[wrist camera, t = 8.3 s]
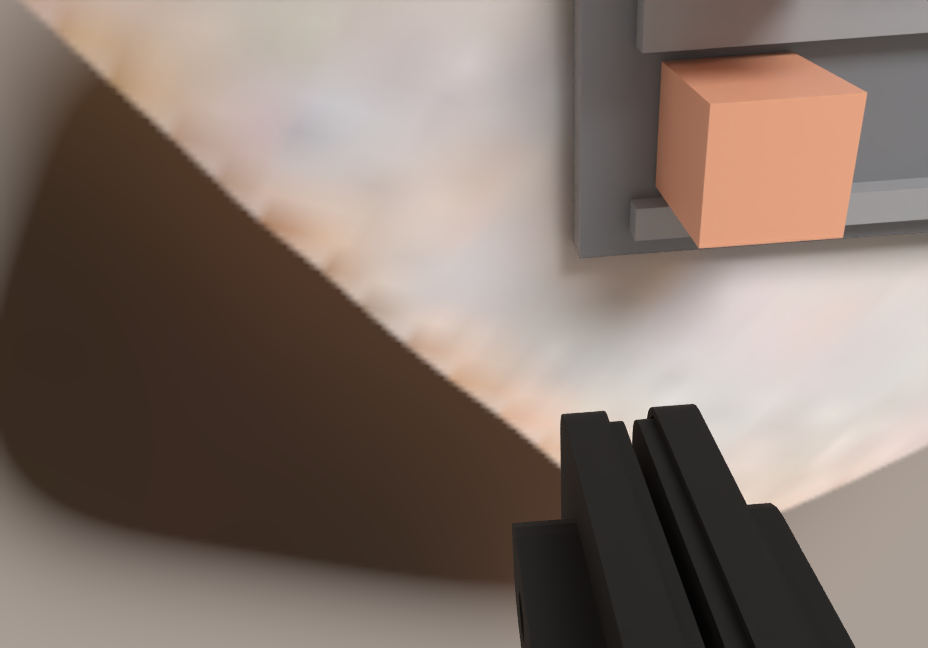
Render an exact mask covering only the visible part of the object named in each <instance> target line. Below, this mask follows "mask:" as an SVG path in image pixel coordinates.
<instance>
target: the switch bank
mask: <svg viewBox="0 0 928 648" xmlns="http://www.w3.org/2000/svg"><path fill="white" fill-rule="evenodd" d="M780 52H794V53H796V54H798V55H800V56H801V57H803V58H805V59H807V60H809V61H811V62H812V63H814V64H816V65H818V66H820V67H822V68H823V69H825V70H827V71H829V72H831V73H833V74H834V75H836V76H838V77H840V78H842V79H844V80H845V81H847V82H849V83H851V84H853V85H855V86H856V87H858V88H860V89H862V90H864V91H866V92H867V98H866V104H865V110H864V116H863V122H862V128H861V134H860V140H859V146H858V152H857V158H856V164H855V169H854V175H853V181H852V187H851V193H850V199H849V205H848V211H847V217H846V223H845V229H844V235H843V238H855V237H869V236H882V235H895V234H909V233H922V232H928V0H574V244H575V246H576V249H577V252H578V254H579V257H580V258H588V257H602V256H615V255H628V254H642V253H655V252H668V251H682V250H695V249H699V248H698V247H697V245H696V244H695V242H694V241H693V239H692V238H691V237H690V235H689V234H688V232H687V231H686V229H685V228H684V226H683V225H682V224H681V222H680V221H679V219H678V218H677V216H676V215H675V214H674V212H673V211H672V209H671V208H670V206H669V205H668V203H667V202H666V201H665V199H664V198H663V196H662V195H661V193H660V192H659V190H658V189H657V188H656V186H655V184H656V164H657V145H658V125H659V105H660V85H661V65H662V61H670V60H684V59H698V58H712V57H725V56H739V55H753V54H766V53H780ZM833 239H842V238H833ZM820 240H829V239H820ZM807 241H815V240H807ZM793 242H802V241H793ZM780 243H789V242H780ZM767 244H775V243H767ZM753 245H762V244H753ZM740 246H749V245H740ZM727 247H735V246H727ZM713 248H722V247H713ZM700 249H708V248H700Z"/></svg>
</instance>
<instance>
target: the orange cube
mask: <svg viewBox="0 0 928 648" xmlns="http://www.w3.org/2000/svg"><path fill="white" fill-rule="evenodd" d="M866 98H867V92H866V91H864V90H862V89H860V88H858V87H856V86H855V85H853V84H851V83H849V82H847V81H845V80H844V79H842V78H840V77H838V76H836V75H834V74H833V73H831V72H829V71H827V70H825V69H823V68H822V67H820V66H818V65H816V64H814V63H812V62H811V61H809V60H807V59H805V58H803V57H801V56H800V55H798V54H796V53H794V52H780V53H766V54H753V55H739V56H725V57H712V58H698V59H684V60H670V61H662V65H661V85H660V105H659V125H658V145H657V164H656V184H655V186H656V188H657V189H658V190H659V192H660V193H661V195H662V196H663V198H664V199H665V201H666V202H667V203H668V205H669V206H670V208H671V209H672V211H673V212H674V214H675V215H676V216H677V218H678V219H679V221H680V222H681V224H682V225H683V226H684V228H685V229H686V231H687V232H688V234H689V235H690V237H691V238H692V239H693V241H694V242H695V244H696V245H697V247H698V248H699V249H700V248H713V247H727V246H740V245H753V244H767V243H780V242H793V241H807V240H820V239H833V238H843V235H844V229H845V223H846V217H847V211H848V205H849V199H850V193H851V187H852V181H853V175H854V169H855V164H856V158H857V152H858V146H859V140H860V134H861V128H862V122H863V116H864V110H865V104H866Z"/></svg>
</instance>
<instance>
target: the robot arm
mask: <svg viewBox="0 0 928 648" xmlns="http://www.w3.org/2000/svg"><path fill="white" fill-rule="evenodd" d="M560 436H561V520H548V521H536V522H535V521H534V522H522V523H513V524H512V537H513V538H512V539H513V562H514V579H515V592H516V604H517V614H518V624H519V633H520V640H521V648H855V646H854V644H853V642H852V640H851V639H850V637H849V635H848V633H847V631H846V629H845V628H844V626H843V624H842V622H841V621H840V619H839V617H838V615H837V613H836V611H835V610H834V608H833V606H832V604H831V602H830V601H829V599H828V597H827V595H826V593H825V592H824V590H823V588H822V586H821V584H820V582H819V581H818V579H817V577H816V575H815V573H814V571H813V570H812V568H811V566H810V564H809V563H808V561H807V559H806V557H805V555H804V553H803V552H802V550H801V548H800V546H799V544H798V543H797V541H796V539H795V537H794V535H793V533H792V532H791V530H790V528H789V526H788V524H787V523H786V521H785V519H784V517H783V515H782V514H781V513H780V511H779V510H778V508H777V507H776V506H774V505H773V504H771V503H764V504H751V505H747V504H746V502H745V500H744V498H743V496H742V494H741V492H740V490H739V488H738V486H737V484H736V482H735V480H734V478H733V476H732V474H731V472H730V470H729V468H728V466H727V464H726V462H725V460H724V458H723V456H722V454H721V452H720V450H719V448H718V446H717V444H716V442H715V440H714V438H713V436H712V435H711V433H710V431H709V429H708V427H707V425H706V423H705V421H704V419H703V417H702V415H701V413H700V411H699V409H698V408H697V406H696V405H694V404H687V405H674V406H661V407H651V408H650V409H649V411H648V416H647V419H641V420H635V421H634V424H633V438H632V443H631V440H630V438H629V435H628V432H627V429H626V426H625V424H624V422H623V421H616V422H609V419H608V416H607V414H606V412H605V411H597V412H584V413H571V414H562V415H561V424H560Z"/></svg>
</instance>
